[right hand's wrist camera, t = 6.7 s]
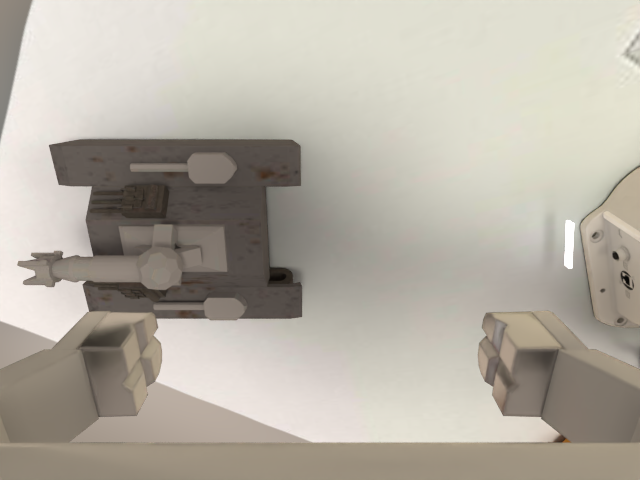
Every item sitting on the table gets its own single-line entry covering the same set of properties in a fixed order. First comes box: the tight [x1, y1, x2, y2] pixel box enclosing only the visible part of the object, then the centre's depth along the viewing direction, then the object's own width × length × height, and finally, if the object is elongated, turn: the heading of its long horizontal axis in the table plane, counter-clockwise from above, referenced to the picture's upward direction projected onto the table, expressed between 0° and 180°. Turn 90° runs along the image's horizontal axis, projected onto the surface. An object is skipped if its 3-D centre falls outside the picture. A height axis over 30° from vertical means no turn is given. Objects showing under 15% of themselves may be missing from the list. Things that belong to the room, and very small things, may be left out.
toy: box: [18, 140, 302, 320], centre depth 44 cm, size 25×20×15 cm
